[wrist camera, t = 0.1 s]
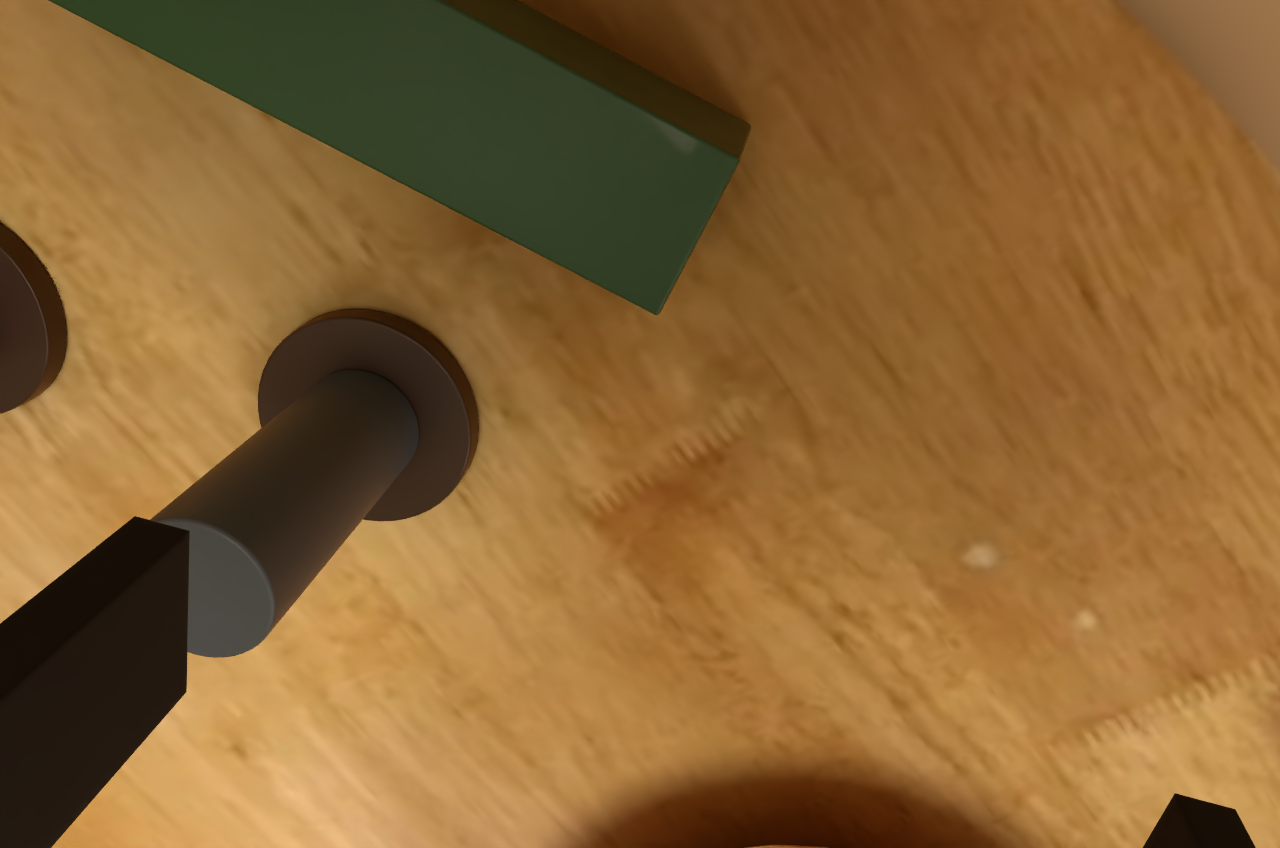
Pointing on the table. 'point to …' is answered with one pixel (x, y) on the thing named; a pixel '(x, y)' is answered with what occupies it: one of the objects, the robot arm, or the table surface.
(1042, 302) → the table surface
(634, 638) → the table surface
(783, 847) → the bowl
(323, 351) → the grey cylinder on disc
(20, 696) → the robot arm
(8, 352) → the red peg on stand
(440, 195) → the green bar
